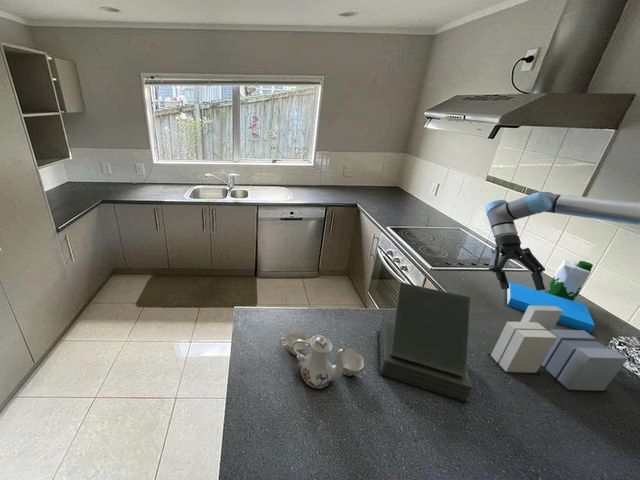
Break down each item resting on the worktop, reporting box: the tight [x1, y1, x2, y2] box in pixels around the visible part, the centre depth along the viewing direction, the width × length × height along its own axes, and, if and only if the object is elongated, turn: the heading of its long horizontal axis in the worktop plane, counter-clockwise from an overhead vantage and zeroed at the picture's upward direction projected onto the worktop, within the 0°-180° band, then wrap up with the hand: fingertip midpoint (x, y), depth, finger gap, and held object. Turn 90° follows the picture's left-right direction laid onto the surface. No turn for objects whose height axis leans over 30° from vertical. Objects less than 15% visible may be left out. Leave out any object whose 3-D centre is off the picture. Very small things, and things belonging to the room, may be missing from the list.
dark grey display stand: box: [378, 281, 473, 402], centre depth 88 cm, size 23×20×25 cm
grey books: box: [541, 328, 629, 392], centre depth 88 cm, size 12×11×14 cm
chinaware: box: [279, 329, 367, 390], centre depth 86 cm, size 28×17×17 cm, turn 70°
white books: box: [490, 321, 557, 374], centre depth 91 cm, size 6×10×15 cm, turn 90°
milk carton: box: [547, 259, 594, 301], centre depth 124 cm, size 9×9×20 cm
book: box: [506, 281, 595, 335], centre depth 120 cm, size 17×4×25 cm
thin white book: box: [520, 305, 563, 332], centre depth 101 cm, size 2×10×15 cm, turn 90°
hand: (523, 289), depth 106 cm, fingers open, 13 cm apart
